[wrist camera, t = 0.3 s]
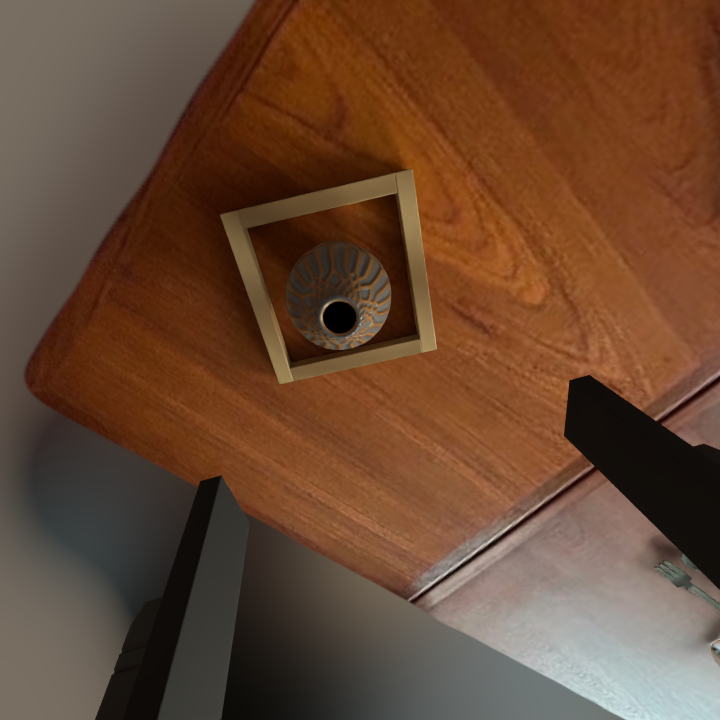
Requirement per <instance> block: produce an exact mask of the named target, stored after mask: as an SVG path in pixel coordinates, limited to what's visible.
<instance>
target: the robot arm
mask: <svg viewBox="0 0 720 720" xmlns="http://www.w3.org/2000/svg"><path fill="white" fill-rule="evenodd" d="M564 436H565V437H566V438H567V439H568V440H569V441H570V442H571V443H572V444H573V445H574V446H575V447H576V448H577V449H578V450H579V451H580V452H581V453H582V454H583V455H584V456H585V457H586V458H587V459H588V460H589V461H590V462H591V463H592V464H593V465H594V466H595V467H596V468H597V469H598V470H599V471H600V472H601V473H602V474H603V475H604V476H605V477H606V478H607V479H608V480H609V481H610V482H611V483H612V484H613V485H614V486H615V487H616V488H617V489H618V490H619V491H620V492H621V493H622V494H623V495H624V496H625V497H626V498H627V499H628V500H629V501H630V502H631V503H632V504H633V505H634V506H635V507H637V508H638V509H639V510H640V511H641V512H642V513H643V514H644V515H645V516H646V517H647V518H648V519H649V520H650V521H651V522H652V523H653V524H654V525H655V526H656V527H657V528H658V529H659V530H660V531H661V532H662V533H663V534H664V535H665V536H666V537H667V538H668V539H669V540H670V541H671V542H672V543H673V544H674V545H675V546H676V547H677V548H678V549H679V550H680V551H681V552H682V553H683V554H684V555H685V556H686V557H687V558H688V559H689V560H690V561H691V562H692V563H693V564H694V565H695V566H696V567H697V568H698V569H699V570H700V571H701V572H702V573H703V574H704V575H705V576H706V577H707V578H708V579H709V580H710V581H711V582H712V583H713V584H714V585H715V586H716V587H717V588H718V589H719V590H720V450H718V449H716V448H713V447H711V446H708V445H706V444H701V445H698V446H694V447H693V446H691V445H690V444H688V443H687V442H685V441H684V440H683V439H681V438H680V437H678V436H677V435H675V434H674V433H672V432H671V431H670V430H668V429H667V428H665V427H664V426H662V425H661V424H659V423H658V422H657V421H655V420H654V419H652V418H651V417H649V416H648V415H646V414H645V413H644V412H642V411H641V410H639V409H638V408H636V407H635V406H633V405H632V404H631V403H629V402H628V401H626V400H625V399H623V398H622V397H620V396H619V395H618V394H616V393H615V392H613V391H612V390H610V389H609V388H607V387H606V386H605V385H603V384H602V383H600V382H599V381H597V380H596V379H594V378H593V377H592V376H590V375H587V376H584V377H580V378H576V379H573V380H570V381H569V391H568V401H567V411H566V421H565V431H564ZM249 524H250V523H249V521H248V520H247V518H246V517H245V514H244V513H243V511H242V509H241V508H240V506H239V504H238V503H237V501H236V499H235V498H234V496H233V494H232V492H231V491H230V489H229V487H228V486H227V484H226V482H225V481H224V479H223V477H222V476H218V477H214V478H210V479H207V480H203V481H200V484H199V487H198V490H197V493H196V496H195V499H194V502H193V506H192V509H191V512H190V515H189V518H188V521H187V524H186V527H185V530H184V533H183V536H182V539H181V542H180V545H179V548H178V552H177V555H176V558H175V561H174V564H173V567H172V570H171V573H170V576H169V579H168V582H167V585H166V588H165V592H164V594H163V597H162V598H158V599H155V600H152V601H148V602H146V603H145V604H144V606H143V607H142V609H141V610H140V612H139V613H138V615H137V616H136V618H135V619H134V621H133V622H132V624H131V626H130V629H129V631H128V634H127V636H126V639H125V642H124V644H123V647H122V653H121V654H120V655H119V658H118V660H117V663H116V666H115V668H114V671H115V672H114V674H113V675H112V676H111V679H110V682H109V684H108V687H107V689H106V692H105V695H104V697H103V700H102V703H101V706H100V708H99V711H98V713H97V716H96V719H95V720H221V716H222V709H223V702H224V695H225V688H226V681H227V675H228V668H229V661H230V654H231V647H232V641H233V634H234V627H235V620H236V613H237V606H238V598H239V593H240V586H241V579H242V571H243V565H244V558H245V551H246V544H247V538H248V531H249Z"/></svg>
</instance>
